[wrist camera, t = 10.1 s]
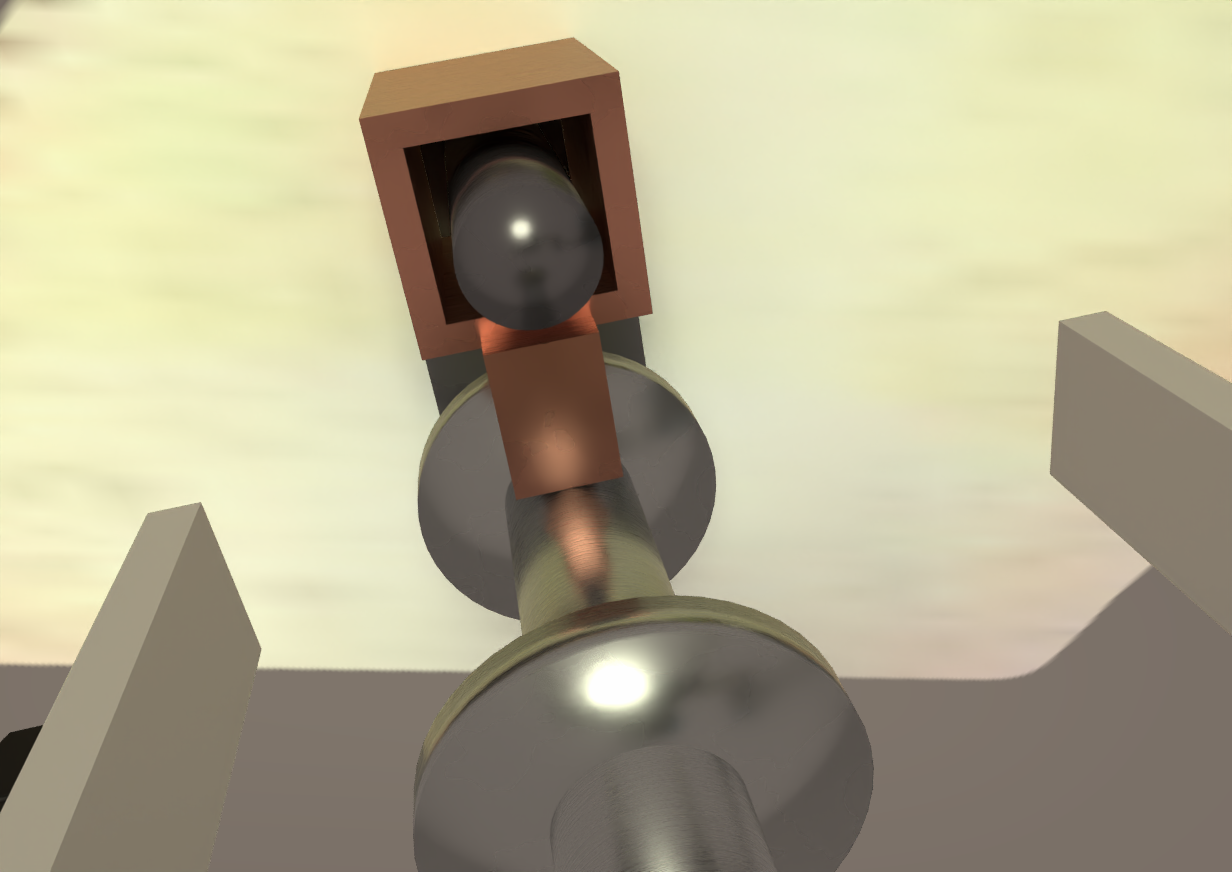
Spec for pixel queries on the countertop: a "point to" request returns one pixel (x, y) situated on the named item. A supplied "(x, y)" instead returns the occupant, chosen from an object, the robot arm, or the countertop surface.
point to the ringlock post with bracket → (590, 547)
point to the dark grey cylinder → (519, 229)
